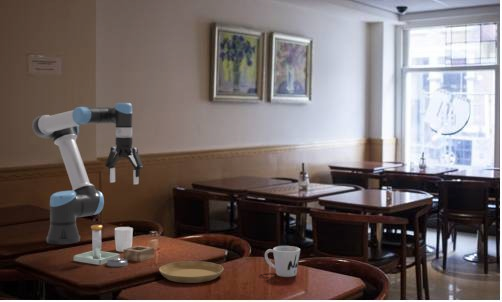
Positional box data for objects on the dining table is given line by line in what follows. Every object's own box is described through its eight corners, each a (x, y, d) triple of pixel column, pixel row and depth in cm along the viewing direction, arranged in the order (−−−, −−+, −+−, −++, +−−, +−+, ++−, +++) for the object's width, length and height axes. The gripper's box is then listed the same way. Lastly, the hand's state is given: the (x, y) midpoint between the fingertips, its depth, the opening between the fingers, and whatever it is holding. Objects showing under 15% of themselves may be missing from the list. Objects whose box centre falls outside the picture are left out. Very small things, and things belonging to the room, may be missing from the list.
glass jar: (88, 259, 256) (88, 226, 256) (96, 257, 260) (96, 224, 260) (97, 261, 254) (97, 227, 253) (105, 259, 258) (104, 225, 258)
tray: (73, 261, 255) (73, 255, 255) (94, 255, 266) (94, 250, 266) (100, 266, 249) (100, 260, 249) (120, 259, 259) (120, 254, 259)
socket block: (123, 260, 259) (123, 249, 259) (137, 255, 267) (137, 245, 267) (140, 262, 255) (140, 251, 255) (154, 258, 263) (154, 247, 263)
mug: (291, 279, 232) (292, 253, 231) (257, 273, 240) (257, 248, 239) (304, 273, 241) (305, 247, 240) (271, 268, 248) (271, 243, 248)
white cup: (128, 253, 272) (128, 230, 271) (111, 252, 273) (111, 229, 272) (135, 249, 279) (135, 227, 279) (119, 248, 281) (118, 226, 280)
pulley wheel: (103, 266, 248) (102, 259, 248) (116, 262, 255) (116, 255, 255) (118, 269, 244) (118, 262, 244) (131, 264, 251) (131, 258, 251)
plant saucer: (184, 265, 252) (184, 257, 252) (235, 274, 240) (235, 265, 240) (145, 279, 231) (145, 270, 231) (199, 289, 219) (199, 280, 219)
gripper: (97, 136, 287) (97, 182, 288) (140, 137, 275) (140, 185, 276) (108, 135, 293) (108, 180, 295) (151, 137, 282) (151, 184, 283)
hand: (124, 183), depth 286 cm, fingers open, 13 cm apart
